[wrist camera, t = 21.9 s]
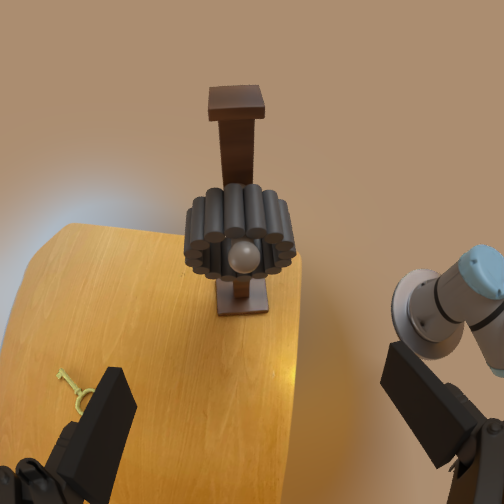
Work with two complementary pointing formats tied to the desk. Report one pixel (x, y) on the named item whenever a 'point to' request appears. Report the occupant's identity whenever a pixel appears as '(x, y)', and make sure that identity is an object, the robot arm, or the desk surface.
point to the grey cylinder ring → (238, 231)
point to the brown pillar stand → (241, 172)
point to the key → (76, 389)
